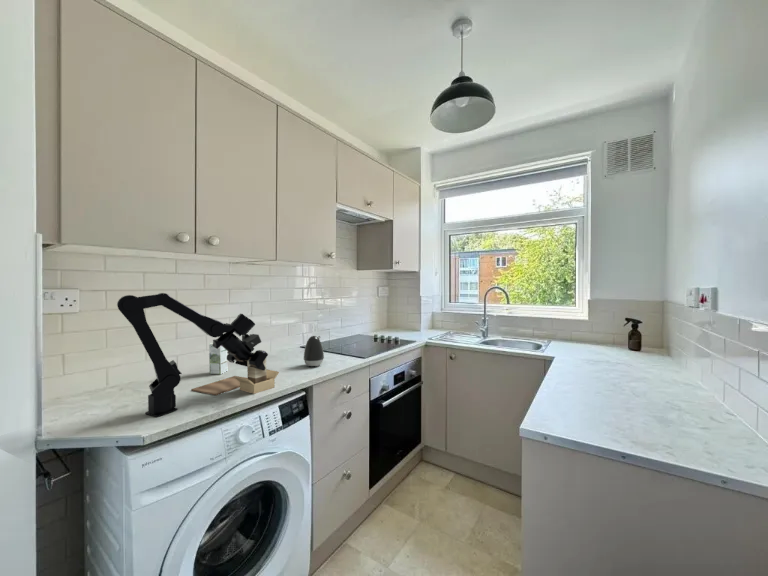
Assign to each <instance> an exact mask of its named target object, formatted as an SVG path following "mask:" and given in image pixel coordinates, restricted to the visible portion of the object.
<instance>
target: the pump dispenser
mask: <svg viewBox="0 0 768 576" xmlns="http://www.w3.org/2000/svg"><path fill="white" fill-rule="evenodd" d="M320 339H321V336H320V335H319V336H316V335H311V336H310V337H309V338H308V339H307V341H306V343H305V348H304V350H303V360H304V361H303V362H304V364H305V365H306V366H307V367H309V366H317V367H319V366H321V365H322V363H323V361H324V359H325V354H324V353H325V352H324V347H323V345H322V343H321V340H320Z"/></svg>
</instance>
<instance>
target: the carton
mask: <svg viewBox="0 0 768 576" xmlns="http://www.w3.org/2000/svg"><path fill="white" fill-rule="evenodd" d="M266 372H267V380H266V381H263V382H260V383H256V384H254V383H253V382H251V381H250V380H248V379H244V378H240V377H241V376H239V377H236V376H237V375H234V376H235V377H234V378H235V379H237V380H238V381H239V382H240V387H239V390H240V391H241V392H242V391H243V392H246V393H250V394H253V395H255V394H258V393H259V394H260V393H261V392H265V391H268V390H272V389H274V388H275V386H276V385H275V383H276V382H275V380H276V378H277V376H279V373H280V371H277V370H272V369H269V368H268V369H267V368H266Z"/></svg>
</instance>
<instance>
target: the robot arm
mask: <svg viewBox="0 0 768 576" xmlns="http://www.w3.org/2000/svg"><path fill="white" fill-rule="evenodd" d="M116 303H117V304H116V306H117V309H118V311H119V312H120V313H121V314H122V315H123V317H125V319H126V320H127V321H128V323H129V324H130V325H131V326H132V328H133V329H134V331H135V333H136V335H137V337H138V338H139V340H140V342H141V344H142V345H143V347H144V349H145V352H146V353H147V355H148V357H149V359H150V360H151V362H152V365H153V370H154V372H155V373H154V374H155V376H156V378H155V379H154V380H153V381H152V382H151V383H149V385H148V387H149V390H150V394H148V395H147V400H148V401H147V406H148V407H147V409H148V410H147V411H145V412H144V414H146V415H148V416H152V417H156V418H158V417H161V416H163V415H164V416H165V415H166V414H169V413H173V412H174V411H175V412H176V411H178V407H176V406H177V404H176V402H177V401H176V400H177V399H176V398H177V396H176V394H175V388H176V387H177V386H178V385H179V384H180V382H181V375H182V372H181V371H180V369H179V368H178V365H177V364H178V363H176V361H175V360H174V359H173V360H172V359H171V361H169V360H168V359H167V358H166V355H165V354H164V352H163V350H162V347H161V346H160V343H159V342H158V340H157V339H156V336H155V334H154V332H153V331H152V329H151V327H150V325H149V324H148V323H149V322H148V321H147V318H146V314H145V310H144V309H149V308H154V307H160V306H162V307H164V308H165V309H167V310H169V311H171V312H173V313H175V314H176V315H178V316H179V317H182V318H184V319H185V320H186V321H187V320H188V321H189V322H191V323H192V324H194V325H195V326H196V327H197V328H198V329H199V330H201V331H202V332H203V333H204V334H205V335H207V336H209V337H211V338H216V339H212V342H213V345H212V346H213V347H215V348H216V349H218V348H219V347H220V346H222V347H223V348H225V349H226V350H227V362H229V363H232V364H236V365H239V366H243V367H247V361H249V364H250V367H253V368H256V369H260V370H265V369H267V367H266V368H265V366H264V363H263V361H264V360H265V359H266V360H267V357H268V355H269V354H268V352H266V351H265V350H262V349H258V350H255V348H254V347H256V346H258V345H259V344H261V343H262V339H261V337H260V335H259V334H256V333H252V334H248V333H249V332H250V331H251V330H252V329H253V328H254V327H255V325H256V324H255V322H254V321H253V320H252V319H251V318H249V317H248V316H246V315H245V314H243V313H239V314H238V315H237V316H236V318H235V319H234V320H233V321H232V322H231V323H227V322H226V323H224V322H222V321H219V320H217V319H214V318H212V317H209V316H206V315H204V314H201V313H199V312H198V311H196V310H195V309H193V308H192V307H191V308H190V307H189V306H188V305H185V304H184V303H182V302H180V301H179V300H177V299H175V298H174V297H172V296H170V295H169V294H168V293H164V292H159V293H158V294H151V295H143V296H135V295H132V294H128V295H124V296H121V297H120V298H119V299H118V301H117V302H116ZM240 337H241V339H240ZM254 350H255V351H254ZM253 352H255V353H253ZM249 359H250V360H249Z"/></svg>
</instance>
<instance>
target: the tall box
mask: <svg viewBox="0 0 768 576" xmlns="http://www.w3.org/2000/svg"><path fill="white" fill-rule="evenodd" d="M255 352H256V351H252V353H255ZM249 360H250V359H249ZM263 363H264V366H265V368H266V369H267V358H266V359H265V360H264V361H263ZM246 367H247V371H246V372H247V378H248V380H250V381H251V382H253V383H254V384H256V383H260V382H263V381H266V380H267V372H266V369H265V370H260V369H256V368H253V367H250V364H249V361H247V366H246Z"/></svg>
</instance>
